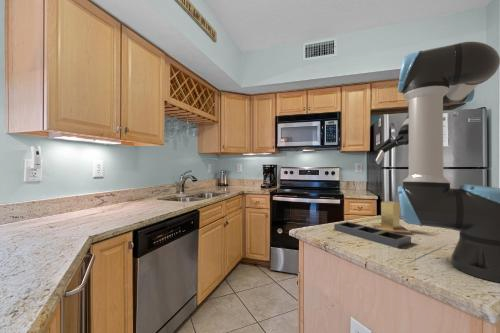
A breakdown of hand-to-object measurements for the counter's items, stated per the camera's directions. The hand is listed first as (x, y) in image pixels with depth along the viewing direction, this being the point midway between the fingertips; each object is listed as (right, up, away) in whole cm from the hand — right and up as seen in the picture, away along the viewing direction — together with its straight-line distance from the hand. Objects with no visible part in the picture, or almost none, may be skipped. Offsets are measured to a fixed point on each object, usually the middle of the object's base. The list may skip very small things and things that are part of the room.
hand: (392, 162), depth 103 cm
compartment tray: (-15, -30, -9) cm, 34 cm away
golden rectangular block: (-1, -28, -1) cm, 28 cm away
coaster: (-1, -30, -1) cm, 30 cm away
